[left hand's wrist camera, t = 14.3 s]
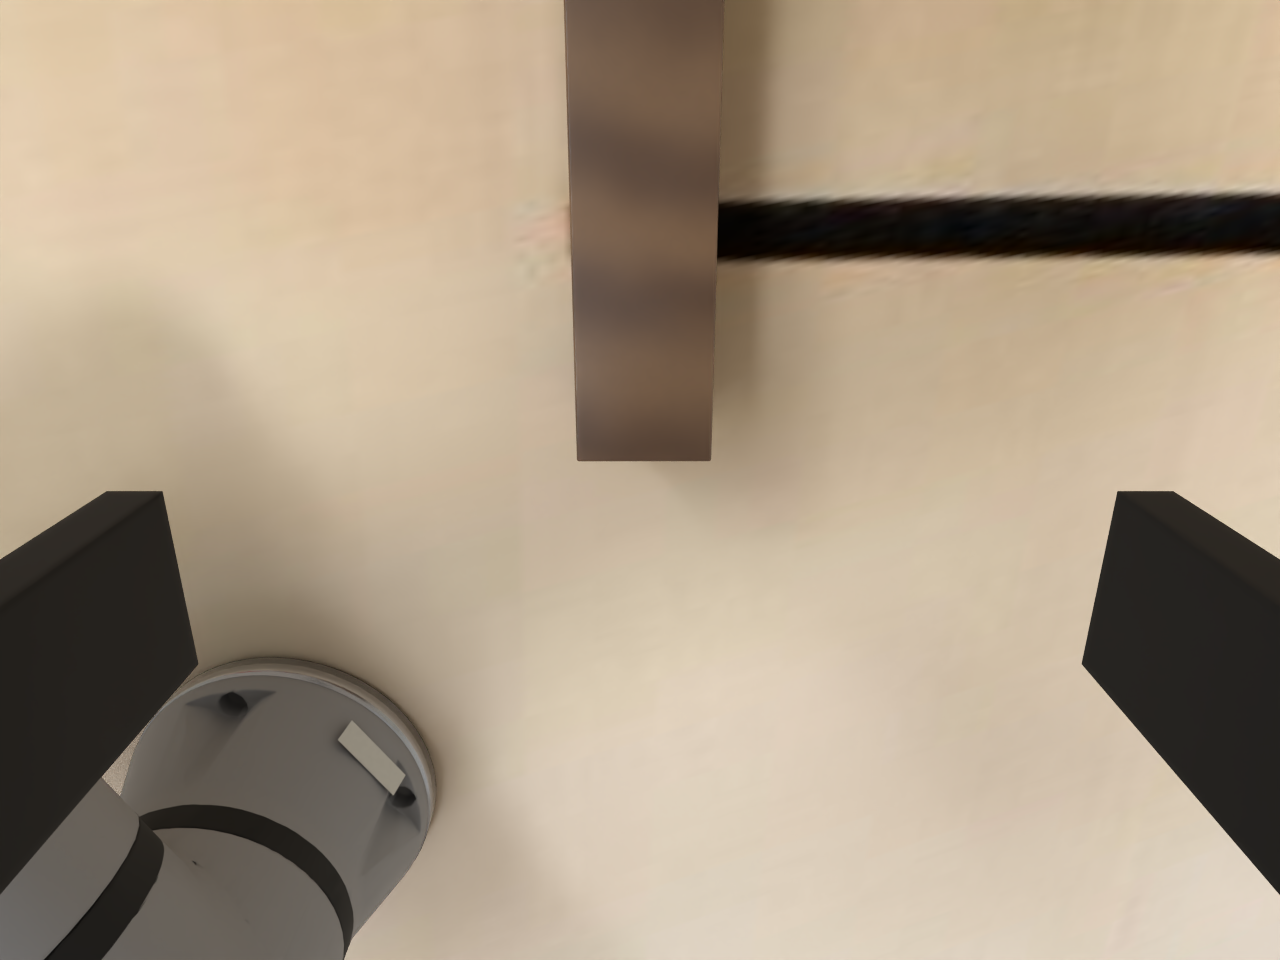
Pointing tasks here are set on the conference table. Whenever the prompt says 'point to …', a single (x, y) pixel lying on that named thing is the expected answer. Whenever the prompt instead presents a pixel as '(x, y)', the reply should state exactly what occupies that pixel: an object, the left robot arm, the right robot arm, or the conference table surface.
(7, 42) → the conference table surface
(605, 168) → the bar
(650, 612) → the conference table surface
